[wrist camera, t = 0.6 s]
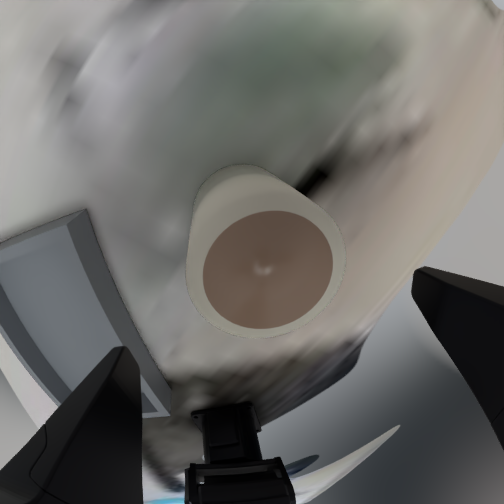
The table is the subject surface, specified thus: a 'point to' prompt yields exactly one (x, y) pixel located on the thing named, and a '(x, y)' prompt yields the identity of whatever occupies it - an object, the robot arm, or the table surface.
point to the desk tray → (68, 311)
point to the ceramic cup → (260, 254)
